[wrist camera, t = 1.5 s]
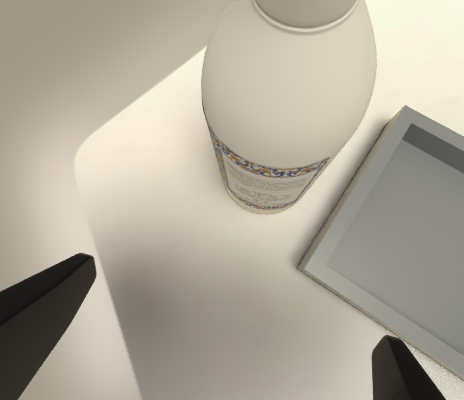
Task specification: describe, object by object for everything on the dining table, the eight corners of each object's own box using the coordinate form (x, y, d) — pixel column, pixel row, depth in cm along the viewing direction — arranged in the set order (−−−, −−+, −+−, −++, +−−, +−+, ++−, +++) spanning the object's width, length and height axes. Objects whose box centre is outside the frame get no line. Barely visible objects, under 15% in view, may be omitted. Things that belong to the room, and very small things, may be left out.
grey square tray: (474, 387, 20) (513, 409, 17) (296, 268, 22) (304, 268, 19) (555, 217, 22) (603, 210, 19) (386, 124, 24) (405, 105, 21)
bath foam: (261, 118, 25) (314, -413, 5) (326, 169, 24) (703, -279, 4) (205, 177, 24) (26, -203, 4) (270, 233, 23) (413, 48, 3)
